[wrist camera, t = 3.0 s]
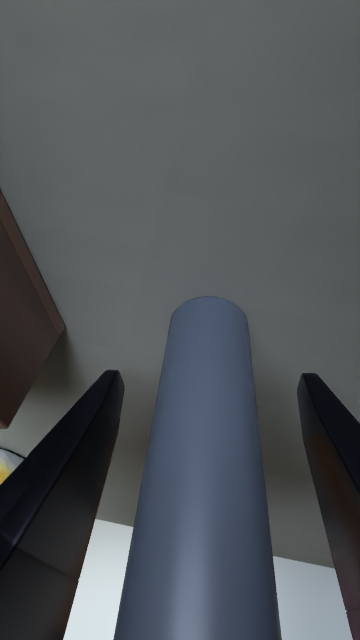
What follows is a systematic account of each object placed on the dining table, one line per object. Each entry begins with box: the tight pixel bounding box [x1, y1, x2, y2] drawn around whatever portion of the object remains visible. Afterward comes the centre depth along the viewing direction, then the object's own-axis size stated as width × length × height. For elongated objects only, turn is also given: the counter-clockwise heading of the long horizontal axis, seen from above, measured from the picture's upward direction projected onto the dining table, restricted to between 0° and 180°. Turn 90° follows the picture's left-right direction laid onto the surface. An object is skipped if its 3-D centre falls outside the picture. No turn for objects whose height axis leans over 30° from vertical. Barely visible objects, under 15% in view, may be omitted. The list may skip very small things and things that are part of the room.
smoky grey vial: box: [114, 297, 282, 640], centre depth 8 cm, size 3×3×10 cm
